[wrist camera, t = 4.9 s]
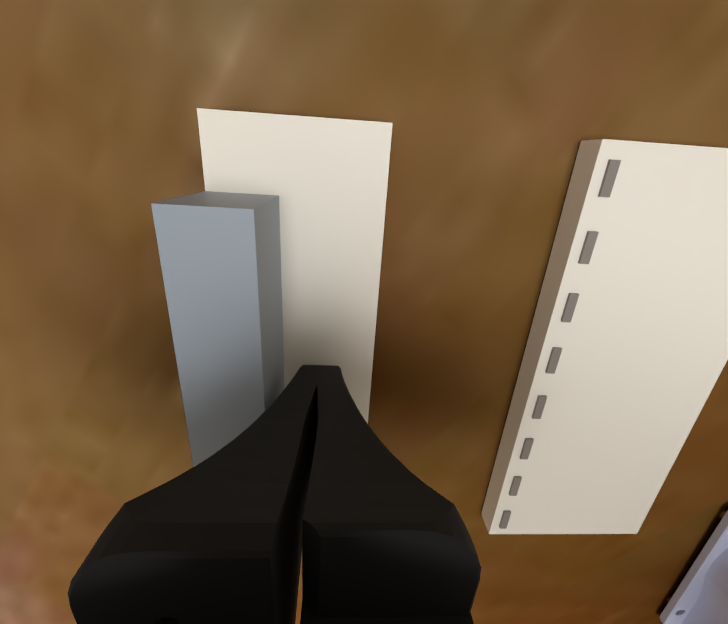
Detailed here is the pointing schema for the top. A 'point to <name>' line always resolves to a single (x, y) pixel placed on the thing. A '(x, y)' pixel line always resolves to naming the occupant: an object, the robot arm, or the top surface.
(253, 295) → the stub
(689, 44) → the top surface
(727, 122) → the top surface
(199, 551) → the robot arm
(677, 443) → the ticket
